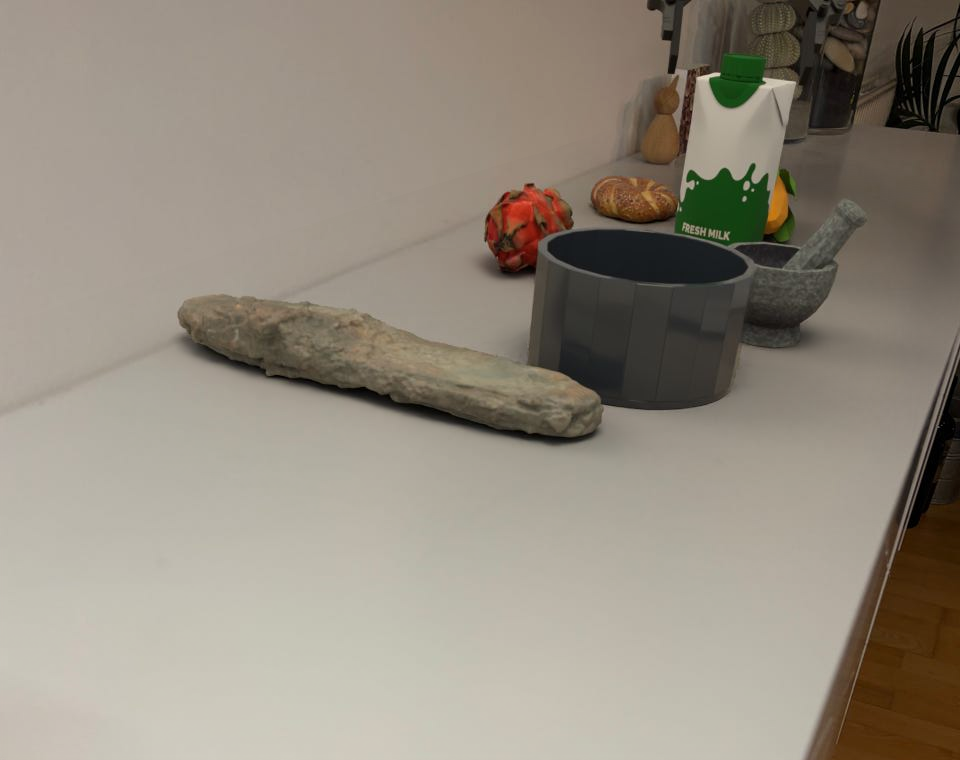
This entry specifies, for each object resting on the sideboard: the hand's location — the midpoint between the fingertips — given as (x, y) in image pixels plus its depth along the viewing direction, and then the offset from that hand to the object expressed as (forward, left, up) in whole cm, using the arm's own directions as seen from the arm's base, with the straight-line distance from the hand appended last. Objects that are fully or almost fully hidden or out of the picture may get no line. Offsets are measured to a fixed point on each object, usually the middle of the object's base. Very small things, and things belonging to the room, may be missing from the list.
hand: (738, 71), depth 111 cm
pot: (-2, +43, -18) cm, 47 cm away
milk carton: (-2, +8, -18) cm, 20 cm away
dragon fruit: (+15, +20, -18) cm, 31 cm away
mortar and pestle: (-11, +28, -18) cm, 35 cm away
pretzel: (+12, -12, -18) cm, 24 cm away
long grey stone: (+14, +56, -18) cm, 61 cm away
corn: (-4, -11, -18) cm, 21 cm away
